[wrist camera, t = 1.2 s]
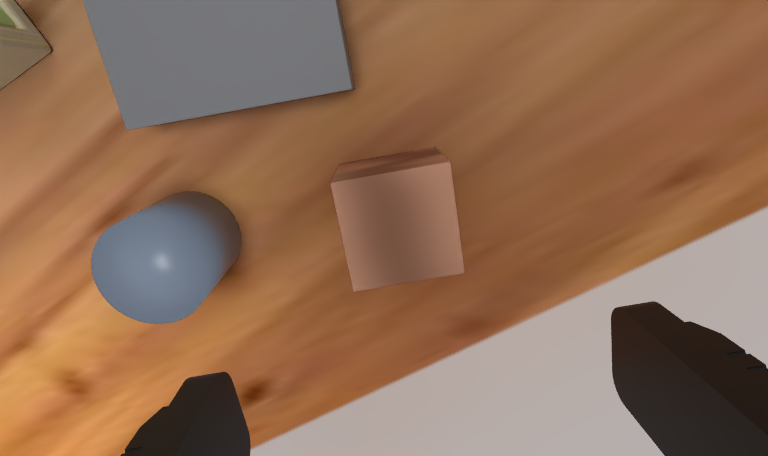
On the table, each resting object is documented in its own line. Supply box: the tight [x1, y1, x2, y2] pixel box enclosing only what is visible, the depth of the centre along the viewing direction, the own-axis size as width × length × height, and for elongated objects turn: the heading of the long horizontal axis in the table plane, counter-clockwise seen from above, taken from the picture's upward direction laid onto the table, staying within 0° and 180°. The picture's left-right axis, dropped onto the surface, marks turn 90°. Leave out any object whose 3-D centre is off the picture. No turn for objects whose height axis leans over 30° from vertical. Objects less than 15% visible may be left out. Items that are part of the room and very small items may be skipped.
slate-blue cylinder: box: [91, 192, 241, 324], centre depth 22 cm, size 5×5×5 cm
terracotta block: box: [330, 147, 465, 292], centre depth 21 cm, size 5×5×5 cm
